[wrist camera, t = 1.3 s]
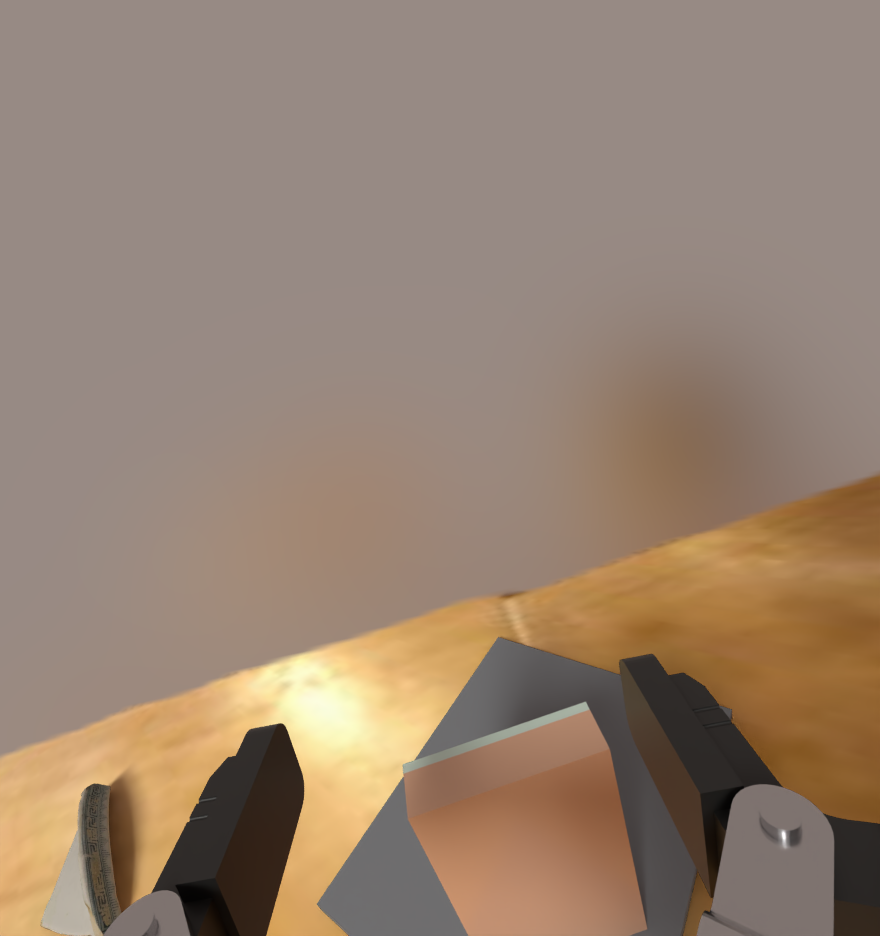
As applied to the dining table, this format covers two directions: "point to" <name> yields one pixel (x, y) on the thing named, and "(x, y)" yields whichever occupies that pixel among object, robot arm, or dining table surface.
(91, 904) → the ceramic fragment
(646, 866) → the mat
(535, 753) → the tile
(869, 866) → the robot arm
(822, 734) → the dining table surface
